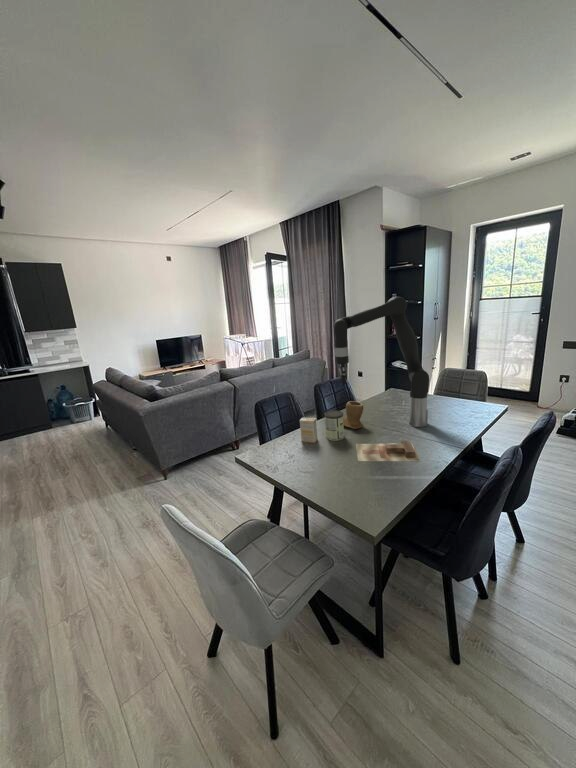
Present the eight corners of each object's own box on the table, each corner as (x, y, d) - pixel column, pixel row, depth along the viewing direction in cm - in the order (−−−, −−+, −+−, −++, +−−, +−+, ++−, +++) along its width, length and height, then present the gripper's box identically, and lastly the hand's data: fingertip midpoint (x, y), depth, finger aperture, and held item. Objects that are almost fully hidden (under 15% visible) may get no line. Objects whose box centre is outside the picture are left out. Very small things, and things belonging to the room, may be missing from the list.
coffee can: (327, 432, 180) (326, 409, 176) (345, 433, 176) (344, 410, 173) (324, 440, 170) (322, 416, 167) (342, 441, 167) (341, 417, 163)
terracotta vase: (368, 425, 184) (367, 402, 180) (354, 431, 177) (354, 407, 174) (349, 419, 196) (348, 397, 192) (335, 425, 189) (334, 402, 185)
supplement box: (317, 439, 171) (316, 418, 168) (315, 443, 167) (313, 421, 164) (304, 438, 175) (302, 416, 171) (301, 442, 171) (299, 420, 167)
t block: (409, 446, 153) (409, 440, 152) (415, 457, 142) (415, 452, 141) (384, 446, 155) (384, 440, 155) (388, 457, 144) (388, 452, 143)
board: (412, 445, 156) (412, 443, 156) (421, 463, 139) (421, 461, 139) (355, 445, 161) (355, 443, 161) (357, 462, 144) (357, 461, 143)
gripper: (349, 356, 167) (351, 385, 171) (347, 352, 180) (348, 379, 184) (336, 357, 167) (337, 386, 172) (334, 353, 181) (336, 379, 185)
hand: (343, 382), depth 178 cm, fingers open, 8 cm apart
